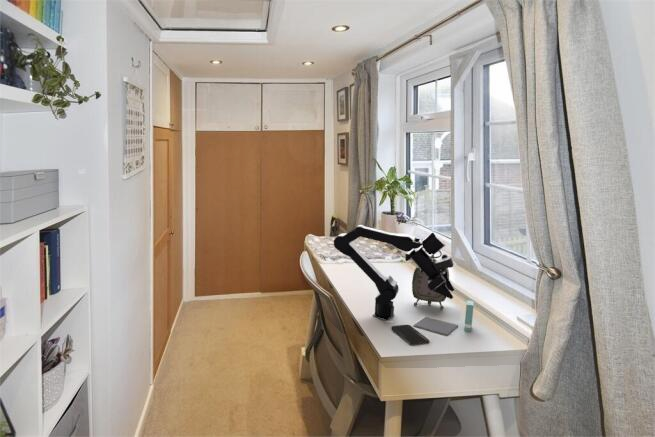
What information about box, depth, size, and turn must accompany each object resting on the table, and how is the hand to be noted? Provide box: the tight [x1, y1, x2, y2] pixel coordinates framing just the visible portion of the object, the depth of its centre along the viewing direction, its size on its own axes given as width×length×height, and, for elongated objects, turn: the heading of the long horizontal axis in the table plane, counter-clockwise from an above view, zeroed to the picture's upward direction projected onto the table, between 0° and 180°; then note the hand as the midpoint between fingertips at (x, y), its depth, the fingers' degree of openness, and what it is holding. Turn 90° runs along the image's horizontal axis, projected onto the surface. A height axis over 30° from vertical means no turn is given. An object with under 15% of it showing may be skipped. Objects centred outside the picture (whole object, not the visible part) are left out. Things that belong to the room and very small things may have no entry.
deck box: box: [463, 300, 475, 332], centre depth 168 cm, size 2×5×10 cm, turn 163°
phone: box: [390, 324, 430, 346], centre depth 161 cm, size 8×1×15 cm
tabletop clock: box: [411, 250, 450, 311], centre depth 189 cm, size 14×9×25 cm, turn 73°
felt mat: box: [413, 316, 459, 337], centre depth 170 cm, size 13×11×1 cm
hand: (452, 294), depth 169 cm, fingers open, 9 cm apart
